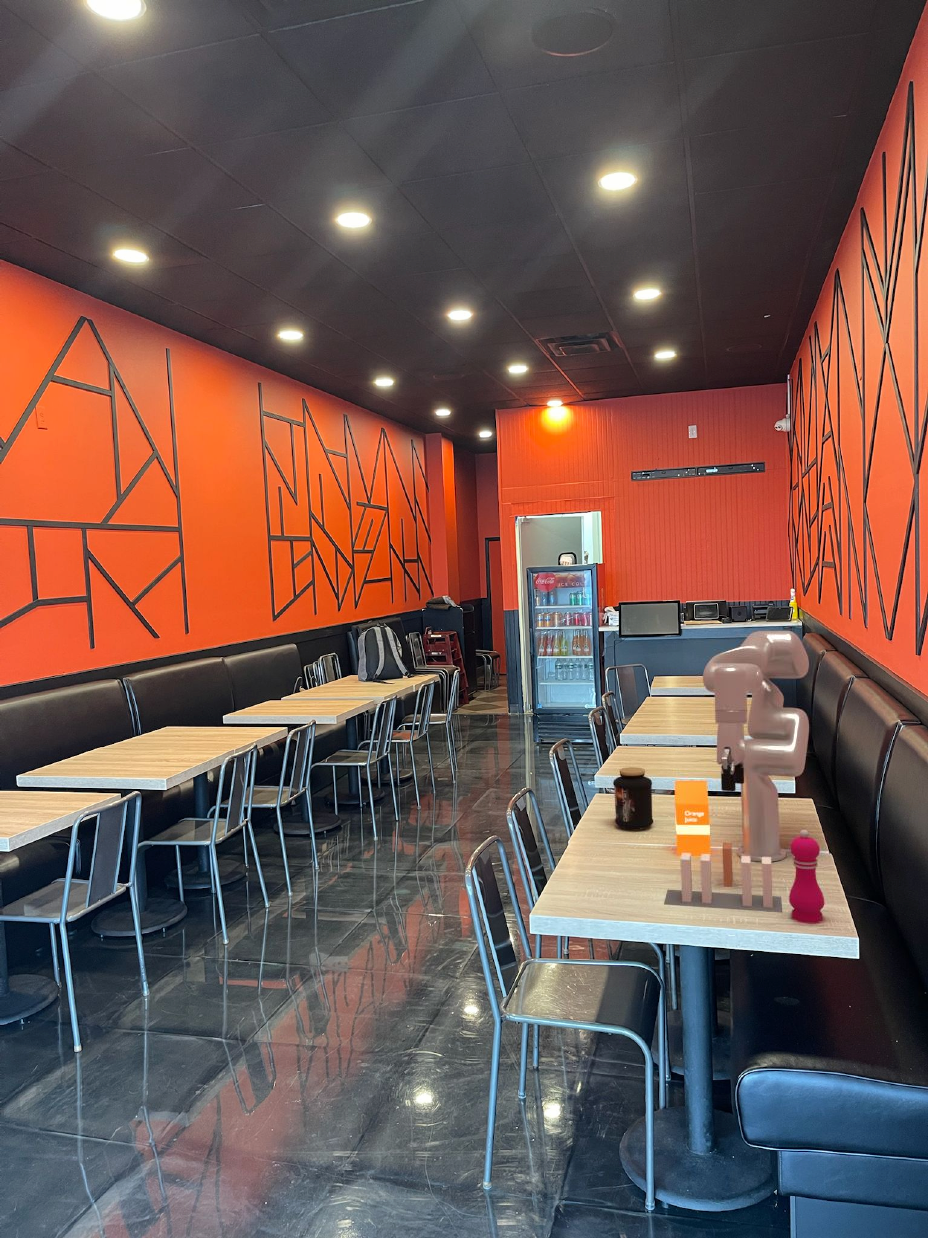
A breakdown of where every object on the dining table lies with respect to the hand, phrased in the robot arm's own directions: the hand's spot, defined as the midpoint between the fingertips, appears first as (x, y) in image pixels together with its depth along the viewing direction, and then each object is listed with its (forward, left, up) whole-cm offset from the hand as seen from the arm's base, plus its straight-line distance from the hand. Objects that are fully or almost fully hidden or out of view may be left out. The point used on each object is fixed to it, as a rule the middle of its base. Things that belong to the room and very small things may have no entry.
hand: (733, 787), depth 213 cm
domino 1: (+12, -11, -24) cm, 29 cm away
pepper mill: (+19, +15, -25) cm, 35 cm away
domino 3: (0, -2, -25) cm, 25 cm away
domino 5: (+12, +7, -24) cm, 28 cm away
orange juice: (-26, -12, -25) cm, 38 cm away
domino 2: (+12, -6, -24) cm, 28 cm away
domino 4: (+12, +3, -24) cm, 27 cm away
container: (-48, -31, -25) cm, 63 cm away
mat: (+12, -3, -25) cm, 27 cm away
